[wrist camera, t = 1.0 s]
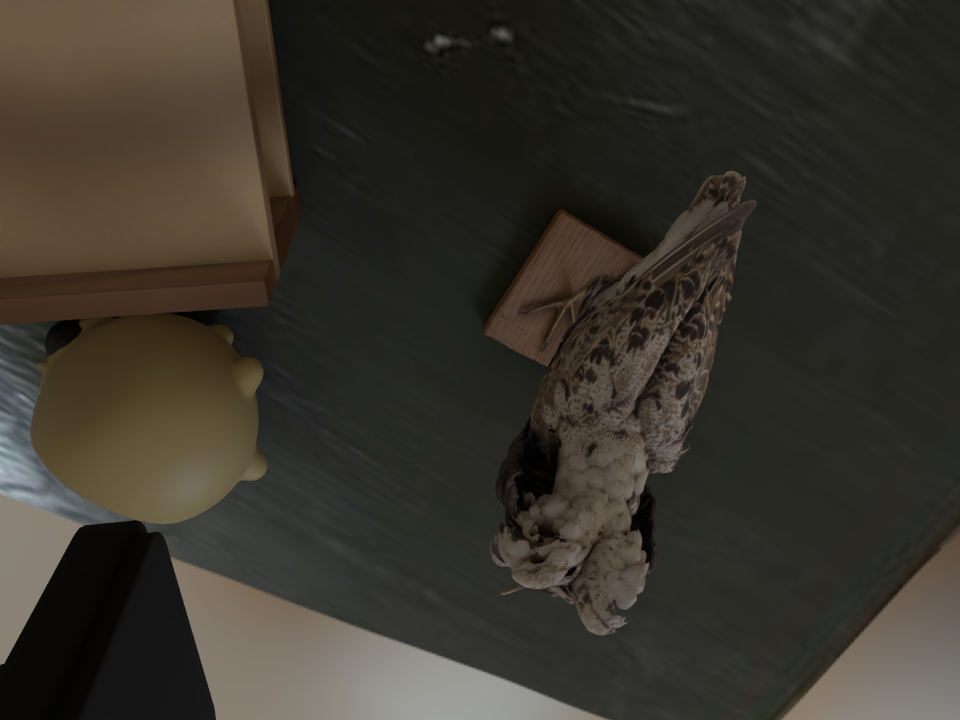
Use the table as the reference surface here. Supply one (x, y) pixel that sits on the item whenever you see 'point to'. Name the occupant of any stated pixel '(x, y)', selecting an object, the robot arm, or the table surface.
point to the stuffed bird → (608, 395)
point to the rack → (140, 158)
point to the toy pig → (147, 414)
